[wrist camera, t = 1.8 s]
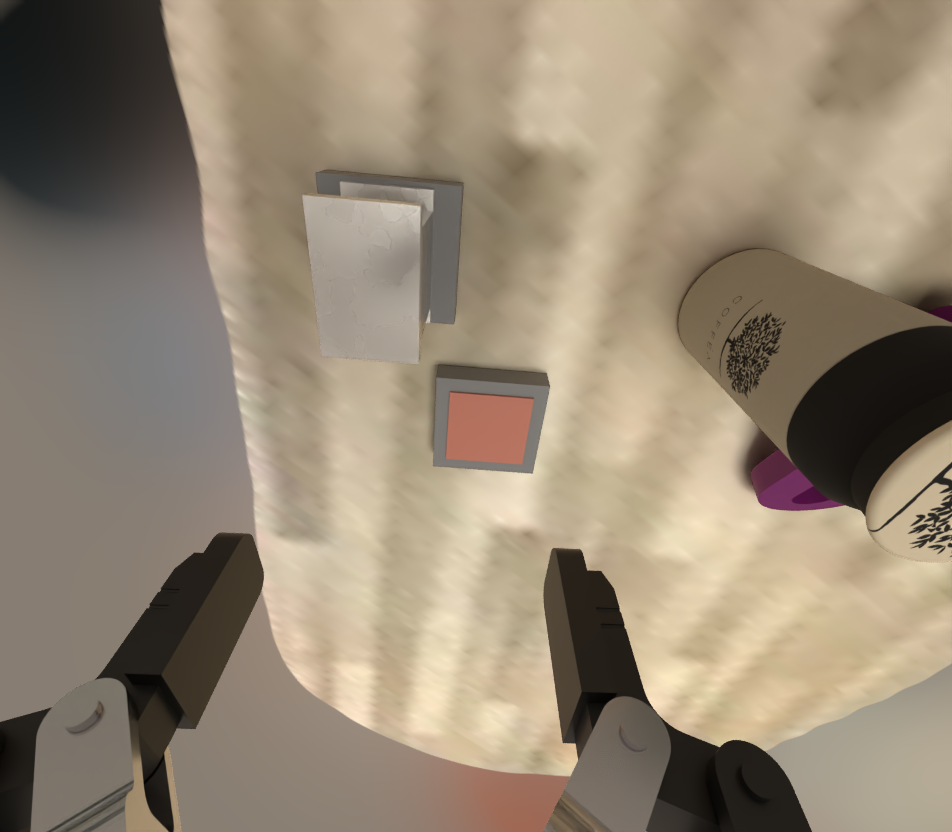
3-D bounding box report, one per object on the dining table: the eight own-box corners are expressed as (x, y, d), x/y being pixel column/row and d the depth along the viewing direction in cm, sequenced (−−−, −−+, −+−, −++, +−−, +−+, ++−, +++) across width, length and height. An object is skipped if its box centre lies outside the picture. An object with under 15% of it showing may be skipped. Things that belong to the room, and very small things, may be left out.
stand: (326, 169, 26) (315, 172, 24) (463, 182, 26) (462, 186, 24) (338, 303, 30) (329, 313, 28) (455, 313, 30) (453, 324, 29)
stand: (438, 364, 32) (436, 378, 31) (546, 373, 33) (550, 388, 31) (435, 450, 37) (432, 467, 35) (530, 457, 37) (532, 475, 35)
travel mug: (828, 278, 29) (1214, 443, 14) (742, 377, 33) (965, 590, 18) (730, 226, 27) (1045, 347, 12) (652, 337, 31) (814, 533, 16)
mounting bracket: (808, 426, 42) (1004, 278, 27) (844, 512, 38) (1104, 394, 22) (709, 424, 42) (848, 274, 27) (734, 509, 38) (918, 389, 22)
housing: (343, 180, 24) (302, 194, 19) (434, 189, 24) (420, 206, 19) (353, 312, 28) (321, 356, 23) (431, 318, 28) (418, 364, 23)
